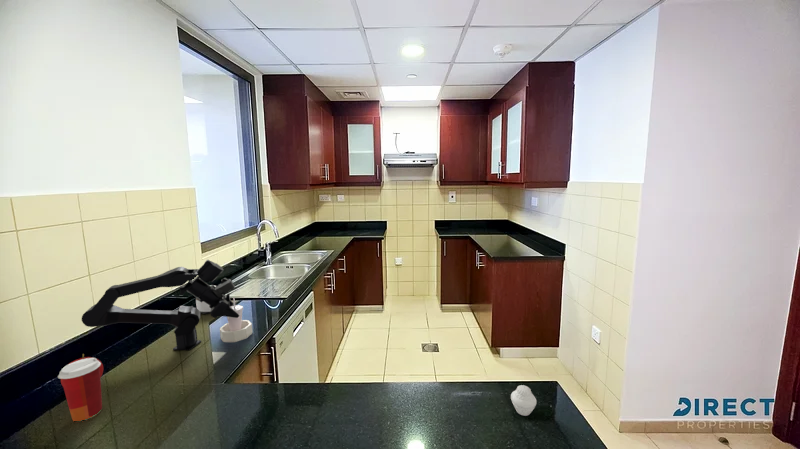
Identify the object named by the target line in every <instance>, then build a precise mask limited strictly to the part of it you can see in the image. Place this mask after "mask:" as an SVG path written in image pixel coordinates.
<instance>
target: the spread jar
mask: <svg viewBox="0 0 800 449" xmlns="http://www.w3.org/2000/svg"><path fill="white" fill-rule="evenodd" d="M209 285H210V284H209ZM211 285H212V284H211ZM211 285H210V286H211ZM213 285H214V284H213ZM214 286H216V285H214ZM199 300H200V299H199V298H197V297H195V304H196V308H197V309H198V310H199V311H200V314H203V315H208V314H210V315H211V313H210V312H211V308H210V307H209V305H208V304H207V303H205V302H200V301H199Z"/></svg>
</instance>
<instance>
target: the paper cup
mask: <svg viewBox="0 0 800 449" xmlns="http://www.w3.org/2000/svg"><path fill="white" fill-rule="evenodd" d="M97 359H98V358H97ZM97 359H96V357H93V358H86V359H82V360H78V361H75V362H73V363H71V362H69V363H70V364H69V363H68V364H66V365H65V366H64V367H63V368H61V370H60V371H59V374H58V375H57V378H58V379H60V381H61V380H62V384H63V386H62V388H63V391H64V394H65V398H66V401H67V402H66V403H67V407H68V409H69V413H70V417H71V419H72V421H73V422H74V421H81V420H85V419H88V418H90V417H92V416H93V415H95V414H97V413H98V412H99V411H100V410H101V409H102V410H103V398H102V396H103V395H102V381H101V378H100V365H101V362H102V361H101V362H99V361H98V360H97ZM62 384H61V385H62Z"/></svg>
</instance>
